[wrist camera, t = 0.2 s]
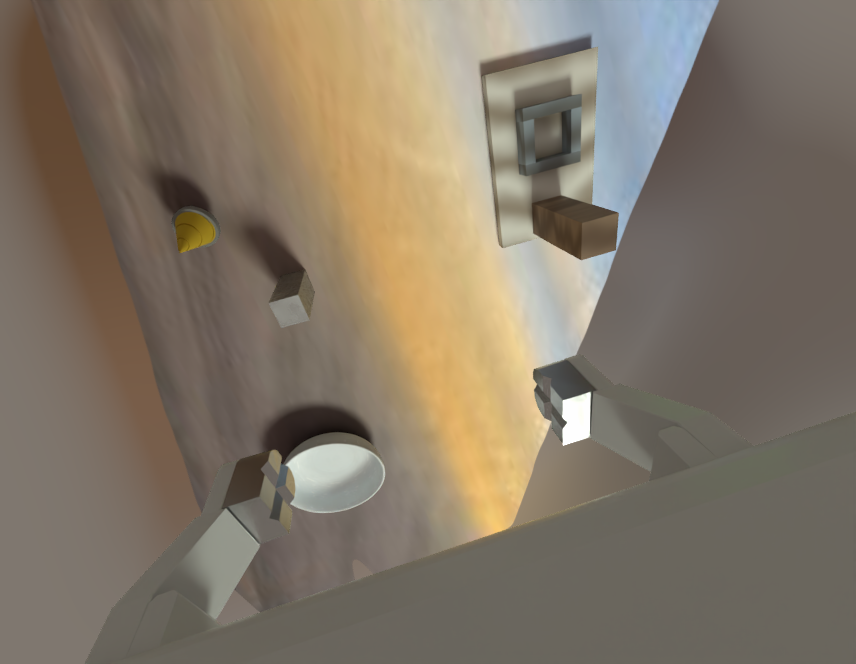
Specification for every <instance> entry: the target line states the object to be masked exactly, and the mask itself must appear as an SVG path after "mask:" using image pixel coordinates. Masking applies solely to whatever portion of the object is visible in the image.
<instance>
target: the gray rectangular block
mask: <svg viewBox="0 0 856 664" xmlns="http://www.w3.org/2000/svg"><path fill="white" fill-rule="evenodd" d="M314 293H315V291H314V289H313V286H312V284H311V282H310V279H309V277H308V275H307V272H306V270H301V271H298V272H294V273H291V274H287V275H283V276H280V278H279V281H278V283H277V285H276V287H275V290H274V292H273V294H272V296H271V299H270V301H269V305H270V307H271V309H272V311H273V313H274V315H275V316H276V318H277V320H278V322H279V324H280V326H281V328H283V327H287V326H290V325H294V324H297V323H301V322H304V321H308V320H310V315H311V310H312V304H313V299H314Z"/></svg>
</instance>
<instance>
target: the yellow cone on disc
mask: <svg viewBox="0 0 856 664" xmlns="http://www.w3.org/2000/svg"><path fill="white" fill-rule="evenodd" d="M172 227H173V230H174V232H175V233H176V236H177V244H178V250H179V251H180V252H179V253H182V252H185V251H188V250H191V249H194V248H197V247H208V246H211V245H213V244H214V243H215V242H216V241H217V240H218V238H219V236H220V231H221V230H220V225H219V223H218V221H217V220H216V218H215V217H214V216H213V215H212V214H211V213H209V212H208V211H206V210H204V209H202V208H199V207H194V206H193V205H192V206H186V207H183V208H180V209H179V210H178V211H177V212H176V213H175V214H174V216H173V218H172Z"/></svg>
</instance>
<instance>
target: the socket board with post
mask: <svg viewBox="0 0 856 664" xmlns="http://www.w3.org/2000/svg"><path fill="white" fill-rule="evenodd" d="M597 58H598V47H595V48H591V49H587V50H583V51H579V52H575V53H571V54H567V55H563V56H559V57H555V58H551V59H547V60H543V61H539V62H535V63H531V64H527V65H523V66H519V67H515V68H511V69H507V70H503V71H499V72H495V73H491V74H487V75H484V76H482V85H483V95H484V104H485V113H486V123H487V132H488V142H489V151H490V161H491V170H492V179H493V189H494V198H495V208H496V217H497V227H498V236H499V245H500V246H501V247H502V248H505V247H509V246H512V245H516V244H519V243H523V242H526V241H530V240H533V239H537V238H542V239H544V240H546V241H547V242H549V243H551V244H553V245H555V246H557V247H558V248H560V249H562V250H564V251H566V252H567V253H569V254H571V255H573V256H575V257H576V258H578V259H580V260H583V259H587V258H590V257H594V256H597V255H601V254H604V253H608V252H611V251H614V250H616V241H617V228H618V216H619V213H618V212H615V211H611V210H608V209H605V208H602V207H598V206H595V205H592V192H593V165H594V138H595V111H596V84H597Z"/></svg>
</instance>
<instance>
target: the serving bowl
mask: <svg viewBox="0 0 856 664" xmlns="http://www.w3.org/2000/svg"><path fill="white" fill-rule="evenodd" d="M283 465H286V466H288V467H289V468H290V470H291V471H292V474H293V476H294V480H295V497H294V499H293V500H292V502H291V503H290V504H292V505H293V506H295V507H297V508H300V509H302V510H306V511H310V512H317V513H330V512H338V511H343V510H347V509H350V508H353V507H355V506H358V505H360V504H362V503H363V502H365V501H367V500H368V499H370V498H371V497H372V496H373V495H374V494H375V493H376V492H377V491H378V490H379V489H380V487H381V485H382V484H383V481H384V478H385V467H384V464H383V461H382V458H381V456H380V454H379V453H378V451H377V450H376V448H375V447H374V446H373V445H372V444H371V443H369V442H368V441H367V440H365V439H363V438H361V437H359V436H357V435H354V434H349V433H342V432H333V433H325V434H321V435H318V436H315V437H312V438H310V439H308V440H306V441H304V442H303V443H301V444H300V445H298V446H297V447H296V448H295V449H294V450H293V451H292V452H291V453H290V454H289V455H288V457H287V458H286V460H285V462H284V464H283Z"/></svg>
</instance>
